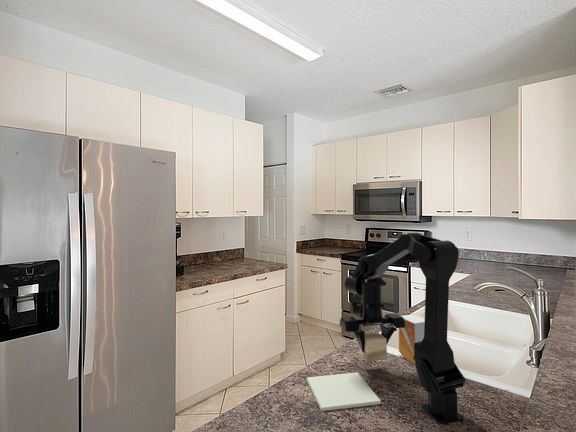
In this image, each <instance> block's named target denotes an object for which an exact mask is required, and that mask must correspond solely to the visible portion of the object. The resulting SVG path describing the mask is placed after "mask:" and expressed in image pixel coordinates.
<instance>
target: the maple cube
mask: <svg viewBox="0 0 576 432" xmlns="http://www.w3.org/2000/svg"><path fill="white" fill-rule="evenodd" d="M387 345H388V343H387V339H386V338H385V337H383V336H382V335H381V333H380V332H378V331H375V332H374V331H373V332H365V349H364V352H362V351H361V348H360V345H359V344H358V347H359V348H358V349H359V350H358V351H359V355H360V356H362V357H363V358H364V359H365V361H367V362H373V361H374V362H376V361H377V362H378V361H385V360H386V361H387V360H388V353H387V352H388V351H387V350H388V346H387Z"/></svg>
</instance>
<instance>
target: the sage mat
mask: <svg viewBox="0 0 576 432" xmlns="http://www.w3.org/2000/svg"><path fill="white" fill-rule="evenodd" d="M306 382H307V384H308V386H309V388H310V390H311V392H312V394H313V397H314V399H315V401H316V403H317V406H318V407H319V409H320V412H325V411H326V412H327V411H334V410H343V409H351V408H360V407H365V406H366V407H368V406H375V405H381V404H382V401H381V399H380V398H379V397H378V396H377V394H376V393H375V391H373V390H372V388H371V387H370V386H369V384H368V383H367V382H366V380H364V378H363V377H362V376H361V375H360V374H359V372H349V373H338V374H337V373H336V374H328V375H318V376H309V377H306Z"/></svg>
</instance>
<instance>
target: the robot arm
mask: <svg viewBox="0 0 576 432" xmlns="http://www.w3.org/2000/svg"><path fill="white" fill-rule="evenodd" d="M408 254H410V255H411V256H412V257H414V258H415V259H418V264H419V268H420V270H421V273H422V274H423V275H424V277H425V295H424V297H425V299H424V319H425V323H424V338H423V340H422V341H420V342H416V343H415V344H414V357H413V359H414V360H415V365H414V366H415V369H416V373H417V376H418V380H419V384H420V387H422V388H424V390H425V392H427V404H422V407H421V408H422V409H423V410H425V411H426V412H427V414H428V415H429V416H430V417H431V418H433V420H434V421H436V423H438V424H443V423H444V424H445V423H451V422H452V423H453V422H457V421H458V422H459V421H464V420H465V416H463V415H462V414H461V413H460V412H459V411H458V410H459V409H458V392H457V389H460V388H464V387H465V384H466V381H467V380H466V378H465V377H464V375H463V373H462V372H461V370H460V369H459V367H458V366H457V364H456V362H455V357H454V351H453V348H451V345H450V344H449V341H448V327H449V326H448V324H449V323H448V319H449V296H450V295H449V292H450V291H449V289H450V279H451V277H452V276H453V274H454V272H455V271H456V269H457V266H458V262H459V261H458V260H459V254H460V253H459V249H458V247H457V246H456V244H454V242H452V241H450V240H441V239H437V238H434V237H432V236H431V237H430V236H427V235H425V234H422V233H419V232H405V233H403V234H401V235H400V236H399V238H397V239H396V240H394V241H392V242H391V243H390V244H389V245H386V246H385V247H384V248H383V249H381V250H379V251H377V252H376V253H373V254H369V255H365V256H362V257H360V258H359V259H358V261H357V265H356V267H355V269H354V271H349V275H348V276H347V278H346V279H345V282H344V288H345V290H346V291H347V292H349V293H352V294H355V295H357V296H361V300H360V302H359V303H360V304H358V303H357V302H351V303H349V311H350V315H351V314H355V316H356V317H359V318H360V319H356V318H355V317H354V316H342V317H341V318H340V319H339V326H340V328H341V329H342V330H344V331H345V332H347V333H353V334H354V335H355V337H356V340H357V342H358V346H359V345H360V348H361V351H362V352H364V349H365V333H366V332H365V331H364V330H363V327H371V326H379V327H380V328H379V329H380V334H381V335H382V336H383V337H385V338H386V339H387V344H388V343H389V341H390V339H391V338H392V336H393V334H394V333H395V332H397V331H398V329H399V328H405V327H406V326H405V319H404V318H403V317H401V316H402V315H400V314H398V313H394V312H392V313H385V314H384V316H383V308H385V304H384V303H383V300H382V299H383V298H382V296H383V294H382V287H383V286H387V283H386V281H385V280H384V279H383V278H382V275H384V274H385V273H386V271H388V270H389V266H390V265H392V264H393V263H394V262H397V261H398V260H400V259H401V258H403V257H404V256H406V255H408Z"/></svg>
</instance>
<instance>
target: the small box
mask: <svg viewBox="0 0 576 432" xmlns="http://www.w3.org/2000/svg"><path fill="white" fill-rule="evenodd" d="M400 316H401V317H403V318H404V319H405V326H406V327H405V328H398V353H399V352H400V353H401V355H402V356H403V357H404V359H405V360H406V361H408V362H410V363H411V364H412V365H414V366H415V360H414V359H413V357H414V344H415V343H416V342H420V341H422V340H423V338H424V323H425V317H421V316H419V315H416V314H405V315H400ZM402 356H401V357H402ZM403 357H402V358H403Z"/></svg>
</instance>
